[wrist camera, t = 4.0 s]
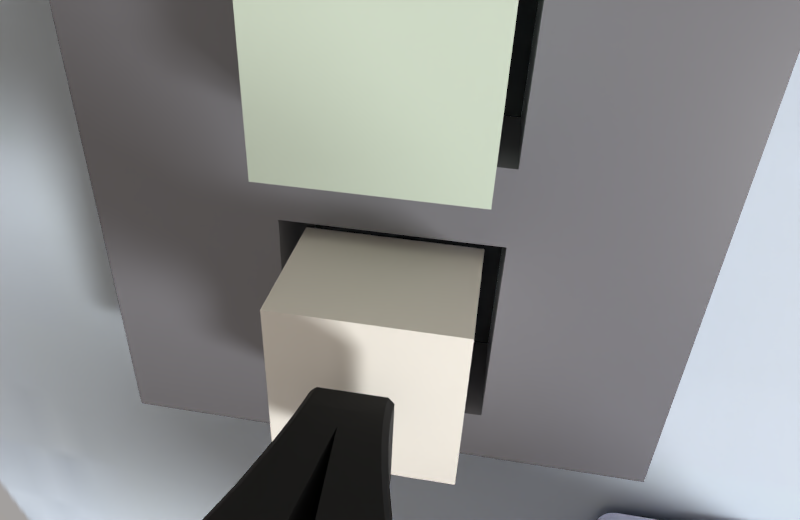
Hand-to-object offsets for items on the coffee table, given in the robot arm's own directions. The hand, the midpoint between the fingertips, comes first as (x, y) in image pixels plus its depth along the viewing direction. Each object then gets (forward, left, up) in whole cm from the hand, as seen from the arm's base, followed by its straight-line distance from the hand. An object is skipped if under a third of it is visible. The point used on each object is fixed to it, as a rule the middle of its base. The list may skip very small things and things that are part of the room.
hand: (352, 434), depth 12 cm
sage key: (+6, 0, -4) cm, 7 cm away
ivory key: (0, 0, -4) cm, 4 cm away
